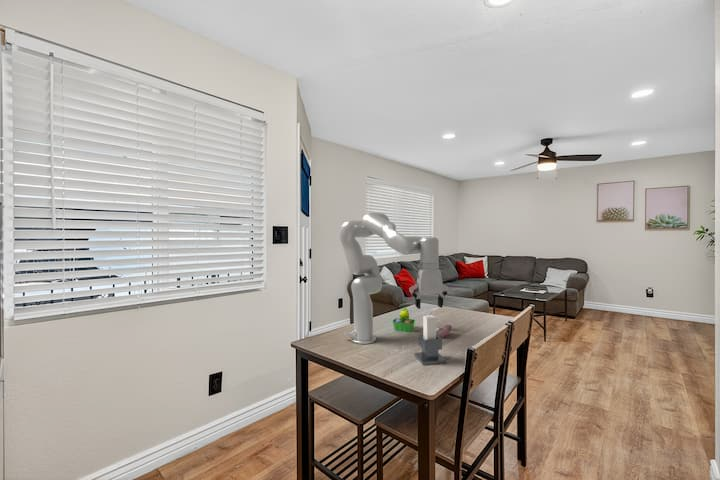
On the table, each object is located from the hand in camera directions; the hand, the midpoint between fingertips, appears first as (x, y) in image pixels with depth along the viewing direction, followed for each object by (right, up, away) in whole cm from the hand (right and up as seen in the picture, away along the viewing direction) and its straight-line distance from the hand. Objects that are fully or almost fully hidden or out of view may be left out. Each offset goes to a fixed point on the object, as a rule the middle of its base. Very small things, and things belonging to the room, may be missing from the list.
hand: (429, 307), depth 131 cm
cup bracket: (0, -22, 0) cm, 22 cm away
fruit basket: (-5, -21, +41) cm, 47 cm away
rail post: (0, -16, 0) cm, 16 cm away
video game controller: (+15, -21, +30) cm, 39 cm away
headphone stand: (+11, -21, +40) cm, 46 cm away
